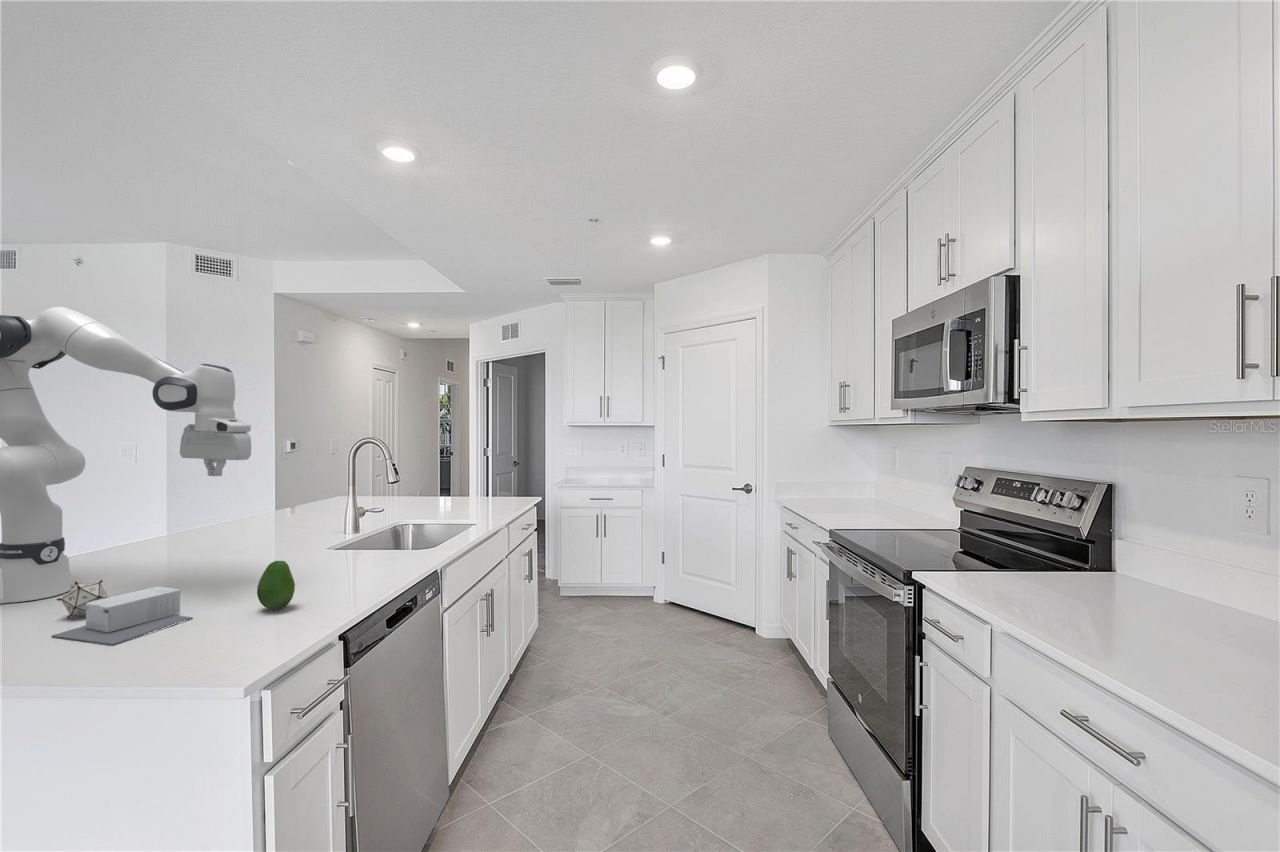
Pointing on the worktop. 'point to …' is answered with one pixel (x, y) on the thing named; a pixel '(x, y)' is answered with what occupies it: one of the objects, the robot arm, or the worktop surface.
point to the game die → (82, 597)
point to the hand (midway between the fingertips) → (214, 476)
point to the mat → (118, 632)
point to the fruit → (276, 586)
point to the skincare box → (132, 608)
